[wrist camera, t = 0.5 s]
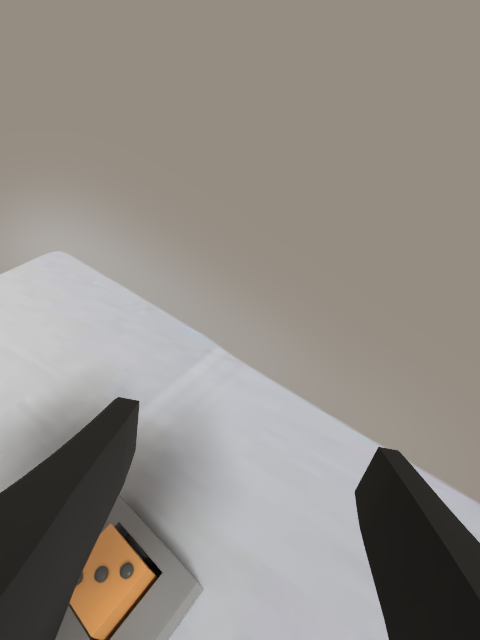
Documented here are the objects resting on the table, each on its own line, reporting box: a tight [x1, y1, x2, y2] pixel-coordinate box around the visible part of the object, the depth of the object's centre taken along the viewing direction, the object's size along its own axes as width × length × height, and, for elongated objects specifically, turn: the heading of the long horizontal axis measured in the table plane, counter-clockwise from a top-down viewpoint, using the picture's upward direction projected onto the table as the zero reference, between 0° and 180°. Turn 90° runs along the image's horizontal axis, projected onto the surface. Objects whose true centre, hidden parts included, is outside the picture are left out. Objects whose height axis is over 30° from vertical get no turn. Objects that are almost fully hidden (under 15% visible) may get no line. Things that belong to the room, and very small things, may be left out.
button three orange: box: [69, 523, 158, 640], centre depth 22 cm, size 4×4×3 cm
